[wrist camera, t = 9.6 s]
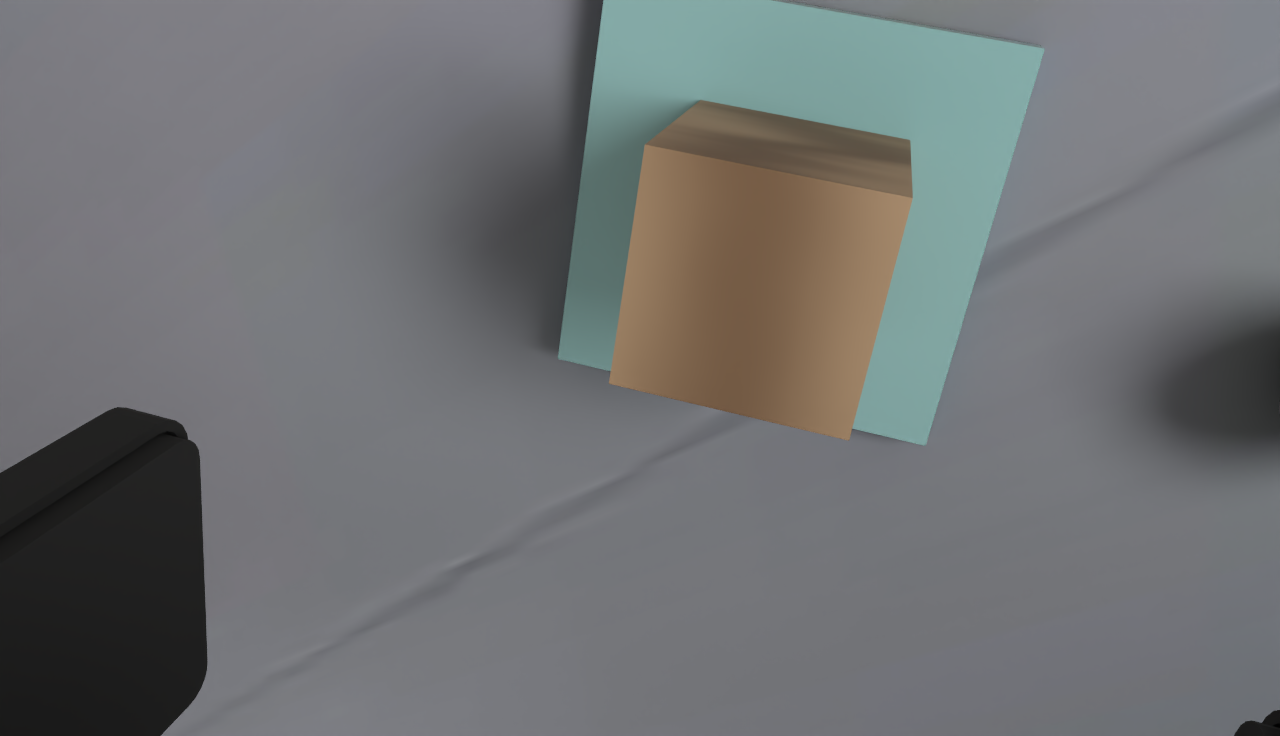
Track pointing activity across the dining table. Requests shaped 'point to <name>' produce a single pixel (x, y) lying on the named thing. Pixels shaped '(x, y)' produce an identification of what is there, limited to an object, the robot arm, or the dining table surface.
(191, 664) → the robot arm
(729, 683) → the dining table surface
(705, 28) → the coaster
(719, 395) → the walnut block
